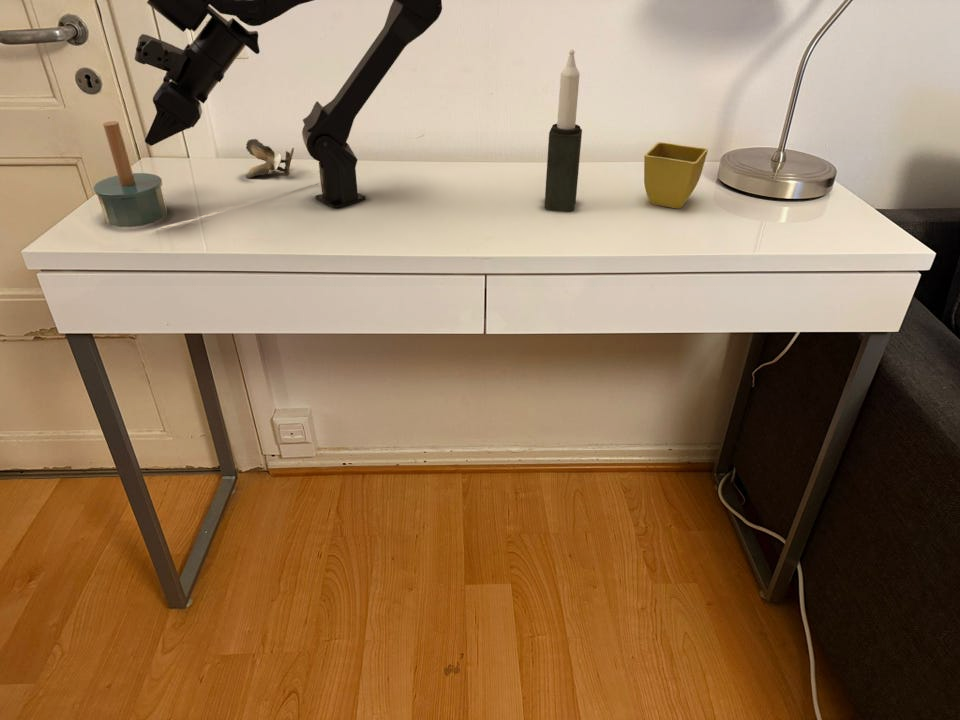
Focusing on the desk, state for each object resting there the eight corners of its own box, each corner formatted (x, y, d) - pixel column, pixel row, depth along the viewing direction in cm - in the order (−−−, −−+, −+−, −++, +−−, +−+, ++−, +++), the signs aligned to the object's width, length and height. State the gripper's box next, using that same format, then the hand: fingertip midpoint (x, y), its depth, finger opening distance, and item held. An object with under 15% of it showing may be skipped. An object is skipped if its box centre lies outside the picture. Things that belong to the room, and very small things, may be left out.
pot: (177, 219, 113) (169, 187, 110) (120, 234, 108) (110, 202, 105) (153, 203, 119) (145, 173, 116) (98, 218, 113) (88, 186, 110)
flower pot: (636, 206, 120) (643, 154, 115) (650, 190, 126) (658, 140, 121) (686, 215, 117) (696, 163, 111) (699, 199, 123) (709, 148, 118)
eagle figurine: (295, 161, 134) (248, 153, 133) (293, 137, 127) (243, 127, 126) (287, 194, 131) (239, 185, 130) (284, 170, 124) (233, 161, 123)
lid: (176, 184, 113) (160, 117, 107) (134, 205, 105) (114, 135, 99) (126, 177, 116) (107, 111, 110) (80, 197, 108) (58, 128, 102)
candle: (573, 212, 117) (587, 53, 103) (543, 209, 118) (553, 51, 104) (576, 201, 121) (590, 47, 107) (547, 199, 122) (557, 45, 108)
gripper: (168, 4, 106) (111, 84, 110) (152, 23, 91) (87, 115, 95) (232, 57, 112) (176, 131, 116) (227, 83, 97) (163, 167, 101)
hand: (151, 134), depth 107 cm, fingers open, 9 cm apart
